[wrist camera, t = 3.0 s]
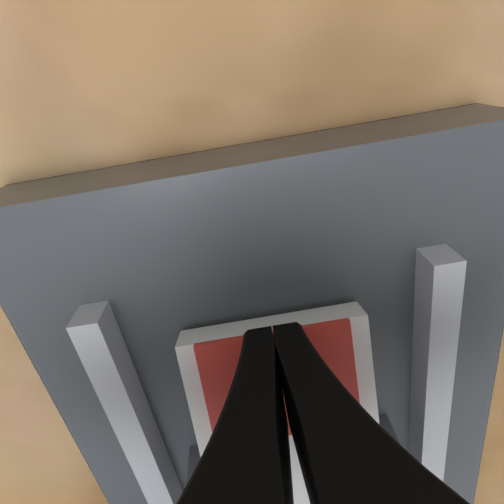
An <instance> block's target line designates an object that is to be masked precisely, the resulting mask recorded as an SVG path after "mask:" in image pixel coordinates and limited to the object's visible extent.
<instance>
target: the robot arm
mask: <svg viewBox="0 0 504 504" xmlns="http://www.w3.org/2000/svg"><path fill="white" fill-rule="evenodd" d="M272 327H273V333H274V339H275V345H276V351H277V357H278V363H279V369H280V375H281V380H280V375H279V369H278V363H277V357H276V351H275V345H274V339H273V333H272ZM272 327H271V326H268V327H262V328H255V329H249V330H247V331H246V332H245V333H244V337H243V344H242V349H241V353H240V357H239V361H238V365H237V368H236V372H235V375H234V378H233V381H232V384H231V387H230V390H229V393H228V396H227V398H226V401H225V404H224V406H223V408H222V411H221V413H220V416H219V418H218V421H217V423H216V426H215V428H214V430H213V433H212V435H211V437H210V439H209V442H208V444H207V446H206V448H205V450H204V452H203V454H202V456H201V458H200V460H199V462H198V464H197V466H196V468H195V470H194V472H193V474H192V476H191V478H190V480H189V482H188V483H187V485H186V487H185V489H184V491H183V492H182V494H181V496H180V498H179V500H178V501H177V503H176V504H294V500H293V486H292V473H291V460H290V446H289V433H288V422H289V426H290V430H291V433H292V437H293V441H294V445H295V448H296V452H297V456H298V460H299V463H300V467H301V471H302V475H303V478H304V482H305V486H306V490H307V493H308V497H309V501H310V504H470V503H469V502H467V501H466V500H465V499H464V498H462V497H461V496H460V495H459V494H457V493H456V492H455V491H454V490H453V489H451V488H450V487H449V486H448V485H446V484H445V483H444V482H443V481H441V480H440V479H439V478H438V477H437V476H435V475H434V474H433V473H432V472H430V471H429V470H428V469H427V468H426V467H425V466H423V465H422V464H421V463H420V462H419V461H418V460H417V459H416V458H414V457H413V456H412V455H411V454H410V453H409V452H408V451H407V450H406V449H404V448H403V447H402V446H401V445H400V444H399V443H398V442H397V441H396V440H395V439H394V438H393V437H392V436H391V435H390V434H389V433H388V432H386V431H385V430H384V429H383V428H382V427H381V426H380V425H379V424H378V423H377V422H376V421H375V420H374V419H373V417H372V416H371V415H370V414H369V413H368V412H367V411H366V410H365V409H364V408H363V407H362V406H361V405H360V404H359V403H358V401H357V400H356V399H355V398H354V397H353V396H352V395H351V394H350V393H349V391H348V390H347V389H346V388H345V387H344V386H343V384H342V383H341V382H340V381H339V379H338V378H337V377H336V376H335V374H334V373H333V372H332V371H331V369H330V368H329V367H328V366H327V364H326V363H325V362H324V360H323V359H322V358H321V356H320V355H319V354H318V352H317V351H316V349H315V348H314V346H313V345H312V343H311V342H310V340H309V339H308V337H307V335H306V334H305V332H304V330H303V328H302V326H301V325H300V324H299V323H297V322H292V323H286V324H280V325H274V326H272ZM281 381H282V386H283V392H284V398H285V404H286V410H287V416H288V422H287V416H286V410H285V404H284V398H283V392H282V386H281Z"/></svg>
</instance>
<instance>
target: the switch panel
mask: <svg viewBox="0 0 504 504" xmlns="http://www.w3.org/2000/svg"><path fill="white" fill-rule="evenodd" d="M355 301H357V302H358V304H359V305H360V306H361V307H362V308H363V310H364V311H365V312H366V313H367V315H368V319H369V329H370V338H371V348H372V357H373V367H374V376H375V386H376V396H377V405H378V415H379V424H380V426H381V427H382V428H383V429H384V430H385V431H386V432H388V433H389V434H390V435H391V436H392V437H393V438H394V439H395V440H396V441H397V442H398V443H399V444H400V445H401V446H402V447H403V448H404V449H406V450H407V451H408V452H409V453H410V454H411V455H412V456H413V457H414V458H416V459H417V460H418V461H419V462H420V463H421V464H422V465H423V466H425V467H426V468H427V469H428V470H429V471H430V472H432V473H433V474H434V475H435V476H437V477H438V478H439V479H440V480H441V481H443V482H444V483H445V484H446V485H448V486H449V487H450V488H451V489H453V490H454V491H455V492H456V493H457V494H459V495H460V496H461V497H462V498H464V499H465V500H466V501H467V502H469V503H470V504H474V498H475V492H476V486H477V481H478V475H479V469H480V463H481V457H482V451H483V446H484V440H485V434H486V428H487V422H488V416H489V411H490V405H491V399H492V393H493V387H494V381H495V376H496V370H497V364H498V358H499V352H500V347H501V341H502V335H503V329H504V108H502V107H496V106H490V105H484V104H478V103H477V104H471V105H465V106H459V107H453V108H448V109H442V110H436V111H430V112H425V113H419V114H413V115H407V116H402V117H396V118H390V119H384V120H379V121H373V122H367V123H361V124H356V125H350V126H344V127H338V128H333V129H327V130H321V131H315V132H310V133H304V134H298V135H292V136H287V137H281V138H275V139H269V140H264V141H258V142H252V143H246V144H241V145H235V146H229V147H223V148H218V149H212V150H206V151H200V152H195V153H189V154H183V155H177V156H172V157H166V158H160V159H154V160H149V161H143V162H137V163H131V164H126V165H120V166H114V167H108V168H103V169H97V170H91V171H85V172H80V173H74V174H68V175H62V176H57V177H51V178H45V179H39V180H34V181H28V182H22V183H16V184H11V185H5V186H4V187H2V188H0V305H1V307H2V309H3V311H4V312H5V314H6V316H7V318H8V320H9V321H10V323H11V325H12V327H13V329H14V331H15V332H16V334H17V336H18V338H19V340H20V342H21V343H22V345H23V347H24V349H25V351H26V353H27V354H28V356H29V358H30V360H31V362H32V364H33V365H34V367H35V369H36V371H37V373H38V375H39V376H40V378H41V380H42V382H43V384H44V386H45V387H46V389H47V391H48V393H49V395H50V397H51V398H52V400H53V402H54V404H55V406H56V408H57V409H58V411H59V413H60V415H61V417H62V419H63V420H64V422H65V424H66V426H67V428H68V430H69V431H70V433H71V435H72V437H73V439H74V440H75V442H76V444H77V446H78V448H79V450H80V451H81V453H82V455H83V457H84V459H85V461H86V462H87V464H88V466H89V468H90V470H91V472H92V473H93V475H94V477H95V479H96V481H97V483H98V484H99V486H100V488H101V490H102V492H103V494H104V495H105V497H106V499H107V501H108V503H109V504H176V503H177V501H178V500H179V498H180V496H181V494H182V492H183V491H184V489H185V487H186V485H187V483H188V482H189V480H190V478H191V476H192V474H193V472H194V470H195V468H196V466H197V464H198V462H199V460H200V458H201V457H200V453H199V448H198V444H197V440H196V436H195V431H194V427H193V423H192V419H191V414H190V410H189V406H188V402H187V397H186V393H185V389H184V385H183V381H182V376H181V372H180V368H179V364H178V359H177V355H176V351H175V345H176V343H177V340H178V337H179V334H180V331H182V330H188V329H194V328H200V327H206V326H212V325H218V324H224V323H230V322H236V321H242V320H248V319H254V318H260V317H266V316H272V315H278V314H284V313H290V312H296V311H302V310H308V309H314V308H320V307H325V306H331V305H337V304H343V303H349V302H355Z"/></svg>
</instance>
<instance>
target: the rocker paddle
mask: <svg viewBox="0 0 504 504" xmlns="http://www.w3.org/2000/svg"><path fill="white" fill-rule="evenodd" d="M292 322H297V323H299V324H300V325H301V326H302V328H303V330H304V332H305V334H306V335H307V337H308V339H309V340H310V342H311V343H312V345H313V346H314V348H315V349H316V351H317V352H318V354H319V355H320V356H321V358H322V359H323V360H324V362H325V363H326V364H327V366H328V367H329V368H330V369H331V371H332V372H333V373H334V374H335V376H336V377H337V378H338V379H339V381H340V382H341V383H342V384H343V386H344V387H345V388H346V389H347V390H348V391H349V393H350V394H351V395H352V396H353V397H354V398H355V399H356V400H357V401H358V403H359V404H360V405H361V406H362V407H363V408H364V409H365V410H366V411H367V412H368V413H369V414H370V415H371V416H372V417H373V419H374V420H375V421H376V422H377V423H378V424H379V415H378V405H377V396H376V386H375V376H374V367H373V357H372V348H371V338H370V329H369V319H368V315H367V313H366V312H365V311H364V310H363V308H362V307H361V306H360V305H359V304H358V302H357V301H355V302H349V303H343V304H337V305H331V306H325V307H320V308H314V309H308V310H302V311H296V312H290V313H284V314H278V315H272V316H266V317H260V318H254V319H248V320H242V321H236V322H230V323H224V324H218V325H212V326H206V327H200V328H194V329H188V330H182V331H180V334H179V337H178V340H177V343H176V345H175V351H176V355H177V359H178V364H179V368H180V372H181V376H182V381H183V385H184V389H185V393H186V397H187V402H188V406H189V410H190V414H191V419H192V423H193V427H194V431H195V436H196V440H197V444H198V448H199V453H200V457H201V456H202V454H203V452H204V450H205V448H206V446H207V444H208V442H209V439H210V437H211V435H212V433H213V430H214V428H215V426H216V423H217V421H218V418H219V416H220V413H221V411H222V408H223V406H224V404H225V401H226V398H227V396H228V393H229V390H230V387H231V384H232V381H233V378H234V375H235V372H236V368H237V365H238V361H239V357H240V353H241V349H242V344H243V337H244V333H245V332H246V331H247V330H249V329H255V328H262V327H268V326H271V327H272V326H274V325H280V324H286V323H292ZM272 333H273V327H272ZM273 339H274V333H273ZM274 345H275V339H274ZM275 351H276V345H275ZM276 357H277V351H276ZM277 363H278V357H277ZM278 369H279V363H278ZM279 375H280V369H279ZM280 380H281V375H280ZM281 386H282V381H281ZM282 392H283V386H282ZM283 398H284V392H283ZM284 404H285V398H284ZM285 410H286V404H285ZM286 416H287V410H286ZM287 422H288V416H287ZM379 425H380V424H379ZM288 433H289V446H290V460H291V473H292V486H293V500H294V504H310V501H309V497H308V493H307V490H306V486H305V482H304V478H303V475H302V471H301V467H300V463H299V460H298V456H297V452H296V448H295V445H294V441H293V437H292V433H291V430H290V426H289V422H288Z"/></svg>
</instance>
